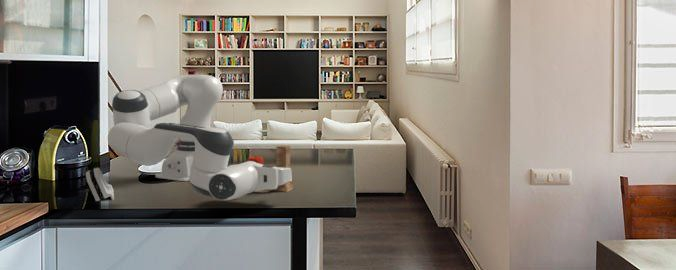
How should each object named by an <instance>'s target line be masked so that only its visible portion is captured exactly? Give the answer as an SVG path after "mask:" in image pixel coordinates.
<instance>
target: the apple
mask: <svg viewBox="0 0 676 270" xmlns="http://www.w3.org/2000/svg"><path fill="white" fill-rule="evenodd" d="M247 161H253V162H256V163H259V164H262V165H264V158H263V157H262V156H256V155H254V156H253V155H252V156H249V157H248V158H247Z"/></svg>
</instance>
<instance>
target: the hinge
mask: <svg viewBox="0 0 676 270" xmlns="http://www.w3.org/2000/svg"><path fill="white" fill-rule="evenodd" d="M85 178H86V182H87V184H88V186H89V188H90V190H91V193H92V195H93V197H94V200H95V202H100V201H101V199H107V198H109V197H110V198H111V201H114V200H115V195H114V194H115V193H114V188H113V186H112V184H109V183H107V180H106V179H105V176H104V174H103V172H102V170H101V169H100V167H94V168H93V169H91V170H90V169H89V170H87V171H86V172H85Z"/></svg>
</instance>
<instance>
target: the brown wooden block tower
mask: <svg viewBox="0 0 676 270" xmlns="http://www.w3.org/2000/svg"><path fill="white" fill-rule="evenodd" d="M275 151H276V154H275V156H276V158H275V159H276V160H275V161H276V166H275V167H282V168H291V146H290V145H283V144H282V145H277V146H276V150H275ZM293 189H294V184H291V181H289V182H287V183H285V184H283V185H279V186H277V188H276V189H273V191H274V192H284V193H285V192H286V193H288V192H290V191H291V190H293Z"/></svg>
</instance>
